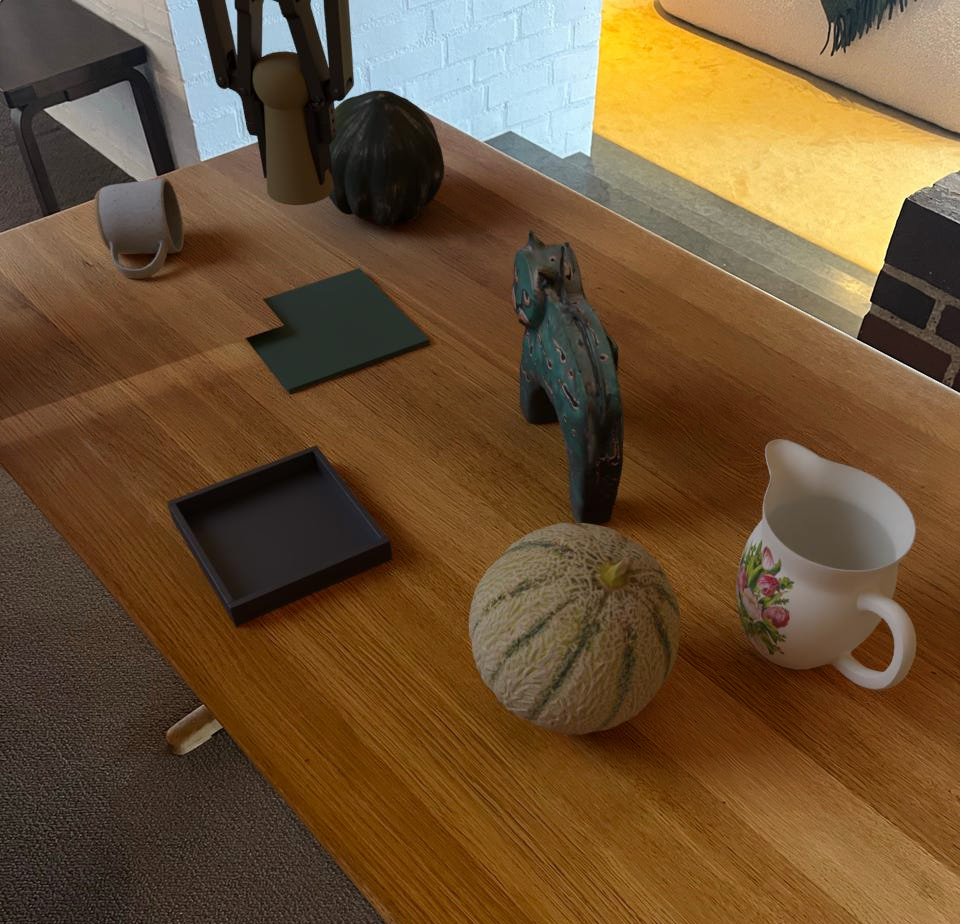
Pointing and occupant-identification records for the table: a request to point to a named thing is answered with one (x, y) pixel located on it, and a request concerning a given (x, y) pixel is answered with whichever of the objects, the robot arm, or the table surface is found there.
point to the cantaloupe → (575, 628)
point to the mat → (333, 330)
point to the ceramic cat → (570, 373)
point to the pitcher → (825, 567)
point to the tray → (278, 534)
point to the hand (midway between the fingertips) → (298, 173)
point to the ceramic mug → (140, 222)
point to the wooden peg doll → (287, 131)
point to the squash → (384, 158)
